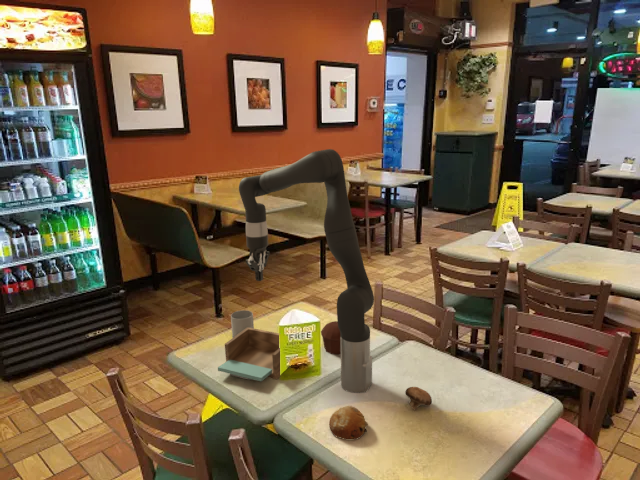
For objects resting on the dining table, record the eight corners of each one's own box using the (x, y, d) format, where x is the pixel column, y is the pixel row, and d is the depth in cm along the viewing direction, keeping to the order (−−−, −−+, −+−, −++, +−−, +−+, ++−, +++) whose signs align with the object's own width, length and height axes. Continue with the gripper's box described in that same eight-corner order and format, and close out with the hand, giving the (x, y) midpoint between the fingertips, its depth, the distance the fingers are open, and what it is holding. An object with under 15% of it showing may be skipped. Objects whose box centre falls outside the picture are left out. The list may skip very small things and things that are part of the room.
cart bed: (296, 359, 168) (295, 336, 166) (276, 379, 156) (275, 354, 153) (248, 349, 176) (247, 327, 174) (226, 367, 164) (224, 343, 162)
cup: (252, 343, 181) (250, 319, 178) (230, 343, 181) (229, 319, 179) (255, 333, 189) (254, 310, 186) (235, 333, 189) (233, 310, 187)
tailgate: (272, 369, 156) (261, 377, 149) (272, 375, 156) (261, 384, 150) (229, 359, 162) (217, 367, 156) (230, 365, 163) (217, 373, 157)
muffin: (315, 345, 178) (315, 321, 175) (341, 338, 183) (340, 314, 180) (331, 359, 168) (331, 333, 165) (357, 351, 173) (357, 326, 170)
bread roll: (349, 426, 137) (340, 400, 138) (377, 426, 131) (366, 398, 131) (328, 445, 130) (318, 417, 130) (356, 445, 123) (345, 416, 123)
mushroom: (407, 407, 134) (415, 385, 136) (396, 401, 142) (404, 381, 143) (431, 417, 136) (439, 396, 137) (419, 411, 143) (426, 391, 145)
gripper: (256, 239, 157) (258, 288, 162) (275, 230, 169) (277, 275, 174) (237, 237, 160) (240, 285, 165) (257, 228, 172) (260, 273, 177)
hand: (259, 280), depth 169 cm, fingers closed
